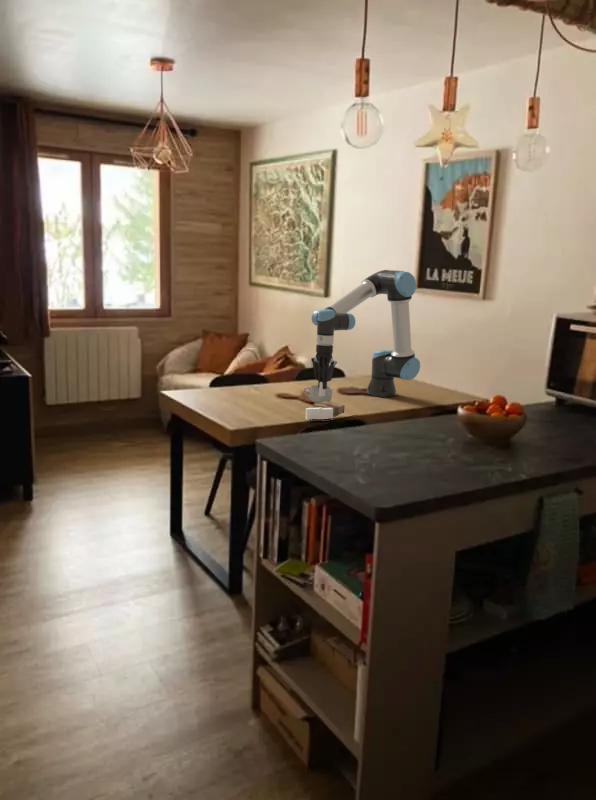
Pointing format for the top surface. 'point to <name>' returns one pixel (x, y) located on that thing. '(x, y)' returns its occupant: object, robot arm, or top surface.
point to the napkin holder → (318, 413)
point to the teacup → (315, 394)
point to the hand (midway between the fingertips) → (322, 395)
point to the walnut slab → (336, 407)
